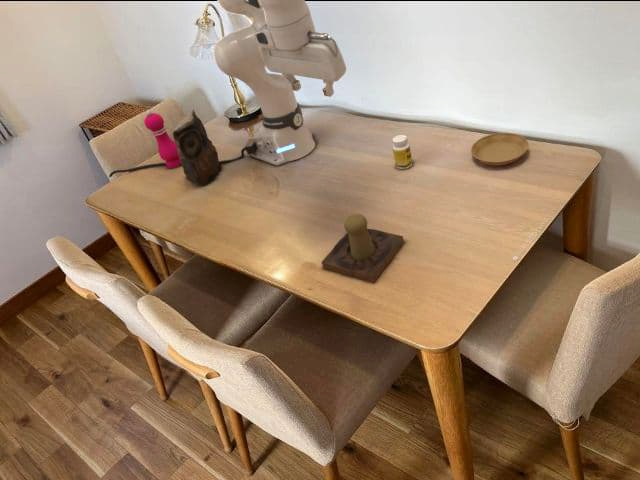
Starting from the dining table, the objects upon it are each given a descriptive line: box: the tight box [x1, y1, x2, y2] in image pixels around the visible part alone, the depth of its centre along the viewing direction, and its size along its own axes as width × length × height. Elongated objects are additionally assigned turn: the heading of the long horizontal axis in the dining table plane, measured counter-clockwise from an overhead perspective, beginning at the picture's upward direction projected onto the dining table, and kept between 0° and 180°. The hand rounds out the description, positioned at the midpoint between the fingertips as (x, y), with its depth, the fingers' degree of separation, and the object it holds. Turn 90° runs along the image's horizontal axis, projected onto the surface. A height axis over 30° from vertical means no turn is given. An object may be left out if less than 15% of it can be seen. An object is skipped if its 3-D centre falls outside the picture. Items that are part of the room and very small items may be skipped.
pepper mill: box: [143, 109, 181, 169], centre depth 168 cm, size 7×7×20 cm
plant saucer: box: [470, 132, 530, 167], centre depth 134 cm, size 15×15×3 cm
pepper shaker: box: [343, 213, 378, 260], centre depth 113 cm, size 6×6×11 cm
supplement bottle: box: [392, 134, 413, 170], centre depth 139 cm, size 5×5×8 cm
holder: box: [321, 227, 405, 283], centre depth 116 cm, size 14×14×2 cm
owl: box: [172, 109, 222, 187], centre depth 156 cm, size 13×13×20 cm
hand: (312, 92), depth 110 cm, fingers open, 8 cm apart
